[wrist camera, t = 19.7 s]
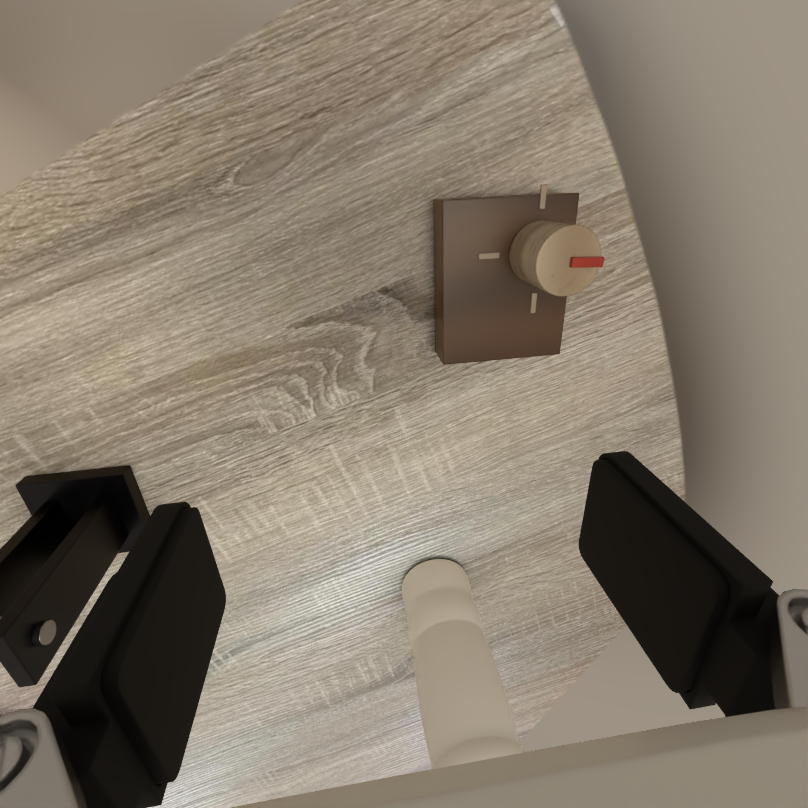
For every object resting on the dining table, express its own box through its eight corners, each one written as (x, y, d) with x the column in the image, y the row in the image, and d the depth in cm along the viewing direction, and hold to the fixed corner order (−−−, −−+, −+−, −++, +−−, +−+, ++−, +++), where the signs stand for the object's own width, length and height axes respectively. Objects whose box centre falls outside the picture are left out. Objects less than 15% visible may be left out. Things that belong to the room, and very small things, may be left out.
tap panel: (433, 189, 29) (443, 189, 27) (581, 182, 30) (606, 181, 28) (435, 351, 34) (443, 365, 32) (561, 340, 36) (580, 353, 33)
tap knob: (505, 283, 30) (533, 298, 25) (512, 220, 28) (543, 225, 24) (560, 282, 30) (597, 297, 26) (570, 220, 28) (611, 224, 24)
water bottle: (390, 597, 46) (438, 976, 24) (416, 549, 43) (496, 923, 21) (449, 608, 48) (544, 967, 26) (477, 562, 45) (608, 916, 23)
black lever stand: (24, 476, 35) (-150, 633, 22) (130, 465, 35) (17, 610, 23) (64, 550, 38) (-68, 721, 26) (158, 539, 39) (75, 699, 27)
